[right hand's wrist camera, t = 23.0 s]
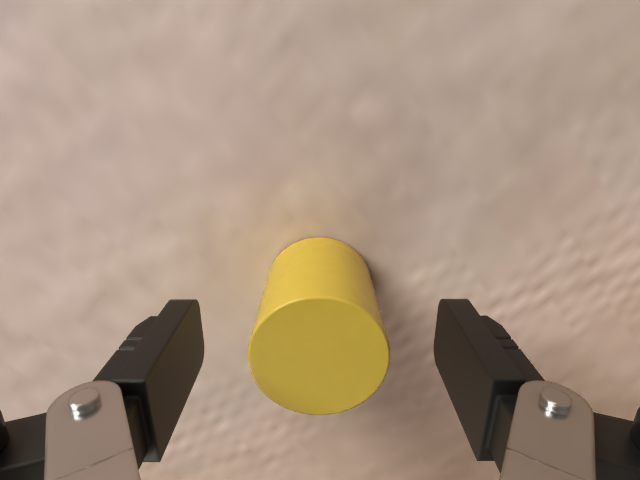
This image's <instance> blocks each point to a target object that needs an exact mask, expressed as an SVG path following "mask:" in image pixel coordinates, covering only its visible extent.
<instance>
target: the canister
mask: <svg viewBox="0 0 640 480" xmlns="http://www.w3.org/2000/svg"><path fill="white" fill-rule="evenodd" d="M248 363H249V368H250V371H251V374H252V376H253V378H254V380H255V382H256V384H257V385H258V386H259V388H260V389H261V390H262V391H263V392H264V393H265V395H267V396H268V397H269V398H270V399H271V400H273V401H274V402H276V403H277V404H279V405H281V406H283V407H285V408H287V409H290V410H292V411H295V412H299V413H304V414H311V415H327V414H334V413H339V412H342V411H346V410H348V409H351V408H353V407H355V406H357V405H359V404H361V403H362V402H364V401H365V400H367V399H368V398H369V397H370V396H371V395H372V394H374V393H375V391H376V390H377V389H378V388H379V387H380V385H381V383H382V382H383V380H384V378H385V376H386V374H387V371H388V367H389V363H390V347H389V342H388V338H387V334H386V331H385V327H384V324H383V320H382V316H381V313H380V309H379V305H378V302H377V298H376V294H375V291H374V287H373V284H372V280H371V276H370V273H369V270H368V267H367V265H366V263H365V261H364V260H363V258H362V257H361V256H360V255H359V254H358V253H357V252H356V251H355V250H354V249H353V248H351V247H350V246H348V245H347V244H345V243H343V242H340V241H338V240H334V239H330V238H322V237H316V238H308V239H304V240H301V241H298V242H296V243H294V244H292V245H290V246H289V247H287V248H286V249H284V250H283V251H282V252H281V253H280V254H279V255H278V256H277V258H276V259H275V261H274V262H273V264H272V266H271V268H270V271H269V275H268V278H267V282H266V285H265V289H264V292H263V296H262V299H261V303H260V307H259V310H258V314H257V317H256V321H255V324H254V328H253V331H252V335H251V338H250V342H249V347H248Z"/></svg>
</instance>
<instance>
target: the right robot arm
mask: <svg viewBox="0 0 640 480" xmlns="http://www.w3.org/2000/svg"><path fill="white" fill-rule="evenodd" d="M434 357H435V362H436V365H437V368H438V370H439V373H440V375H441V377H442V380H443V382H444V384H445V387H446V389H447V391H448V394H449V396H450V398H451V401H452V403H453V405H454V408H455V410H456V412H457V415H458V417H459V419H460V422H461V424H462V427H463V429H464V431H465V434H466V436H467V438H468V441H469V443H470V445H471V448H472V450H473V452H474V455H475V457H476V459H477V461H495V463H496V465H497V467H498V469H499V472H500V479H499V480H640V407H639V409H638V410H637V413H636V416H635V419H634V421H629V420H625V419H620V418H616V417H611V416H607V415H603V414H598V413H594V412H593V411H592V409H591V407H590V405H589V404H588V403H587V402H586V401H585V400H584V399H583V398H582V397H581V396H580V395H578V394H577V393H575V392H574V391H572V390H570V389H568V388H566V387H564V386H562V385H559V384H556V383H552V382H548V381H545V380H544V379H543V378H542V376H541V375H540V374H539V373H538V371H537V370H536V369H535V368H534V366H533V365H532V364H531V362H530V361H529V360H528V359H527V357H526V356H525V355H524V353H523V352H522V351H521V350H520V349H518V346H517V344H516V343H515V342H514V341H513V340H511V337H510V335H509V334H508V333H507V332H506V330H505V329H504V328H503V326H502V325H500V324H499V323H497V322H496V321H494V320H493V319H491V318H490V317H488V316H480V315H479V314H478V312H477V311H476V309H475V308H474V307H473V305H472V304H471V302H470V301H469V300H468V299H441V300H440V302H439V306H438V314H437V322H436V330H435V339H434ZM203 358H204V339H203V331H202V323H201V314H200V307H199V303H198V301H197V300H169V301H168V303H167V304H166V305H165V307H164V308H163V310H162V311H161V312H160V314H159V315H158V316H151V317H149V318H148V319H146V320H144V321H143V322H141V323H140V324H138V325H137V326H136V327H135V328H134V329H133V330H132V332H131V333H130V334H129V335H128V337H127V340H125V341H124V342H123V343H122V344H121V346H120V347H119V350H117V351H116V352H115V353H114V355H113V356H112V357H111V358H110V360H109V361H108V362H107V363H106V365H105V366H104V367H103V368H102V370H101V371H100V372H99V374H98V375H97V376H96V377H95V379H94V380H93V381H92V382H88V383H84V384H81V385H78V386H76V387H74V388H72V389H70V390H68V391H66V392H65V393H63V394H62V395H60V396H59V397H58V398H57V399H56V400H55V401H54V402H53V403H52V404H51V405H50V407H49V409H48V411H47V413H43V414H39V415H35V416H30V417H26V418H21V419H17V420H13V421H8V422H5V421H4V418H3V416H2V413H1V411H0V480H141V479H140V474H139V468H140V466H141V464H142V462H160V461H161V459H162V456H163V454H164V452H165V449H166V447H167V445H168V442H169V440H170V438H171V436H172V433H173V431H174V429H175V426H176V424H177V422H178V419H179V417H180V415H181V412H182V410H183V408H184V406H185V403H186V401H187V399H188V396H189V394H190V392H191V389H192V387H193V385H194V382H195V380H196V378H197V375H198V373H199V371H200V369H201V366H202V363H203Z"/></svg>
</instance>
